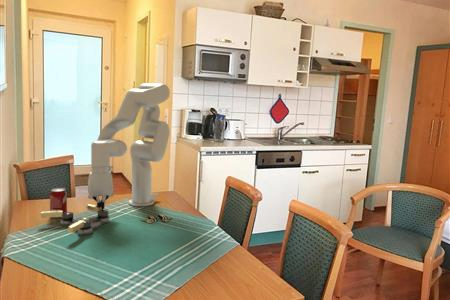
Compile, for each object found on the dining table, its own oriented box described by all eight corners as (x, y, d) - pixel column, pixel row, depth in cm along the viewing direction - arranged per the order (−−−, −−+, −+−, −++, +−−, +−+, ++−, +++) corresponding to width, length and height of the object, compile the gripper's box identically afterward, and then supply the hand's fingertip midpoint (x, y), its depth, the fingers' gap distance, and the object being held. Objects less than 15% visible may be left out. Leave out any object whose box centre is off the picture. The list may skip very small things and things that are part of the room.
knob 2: (110, 216, 162) (110, 208, 162) (102, 219, 159) (101, 210, 158) (91, 210, 169) (91, 202, 169) (83, 212, 166) (83, 204, 165)
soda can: (60, 219, 163) (60, 192, 161) (46, 217, 164) (46, 190, 162) (70, 214, 169) (69, 188, 168) (56, 213, 171) (56, 187, 169)
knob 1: (83, 225, 151) (83, 216, 150) (93, 226, 150) (93, 217, 149) (63, 236, 138) (63, 227, 138) (74, 237, 137) (74, 228, 137)
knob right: (73, 217, 160) (73, 208, 159) (73, 220, 156) (73, 211, 155) (40, 219, 156) (39, 210, 155) (38, 222, 152) (38, 213, 151)
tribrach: (96, 215, 170) (96, 207, 170) (121, 226, 158) (121, 218, 157) (58, 223, 157) (58, 215, 157) (82, 236, 145) (82, 227, 144)
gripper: (116, 167, 172) (116, 206, 174) (81, 168, 165) (81, 209, 168) (119, 170, 165) (119, 211, 168) (83, 172, 158) (83, 214, 161)
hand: (100, 210), depth 168 cm, fingers closed
